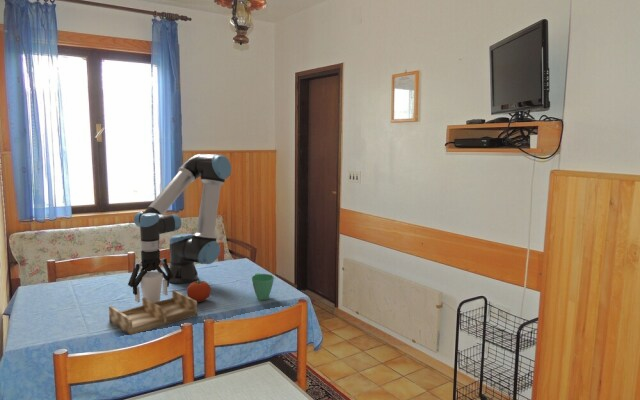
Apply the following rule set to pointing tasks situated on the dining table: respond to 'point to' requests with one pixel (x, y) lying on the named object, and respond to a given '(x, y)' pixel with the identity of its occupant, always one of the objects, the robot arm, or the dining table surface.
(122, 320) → the rack
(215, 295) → the dining table surface
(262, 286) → the mug
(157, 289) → the foam cup
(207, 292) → the tomato
